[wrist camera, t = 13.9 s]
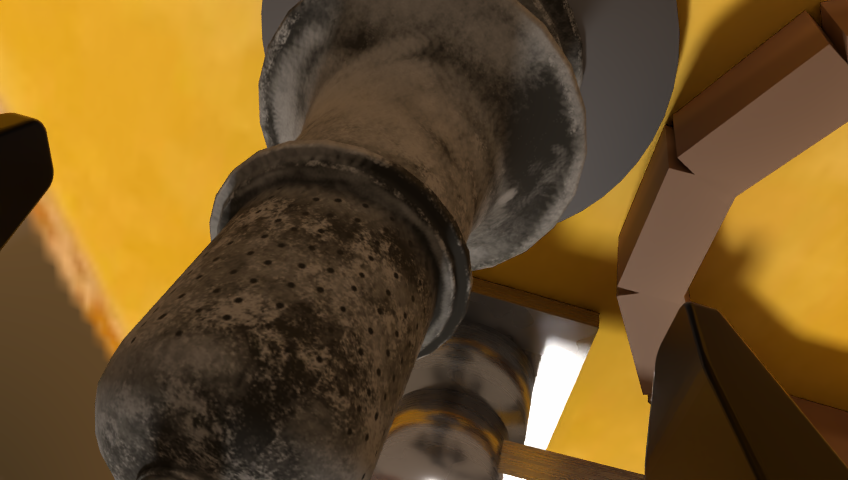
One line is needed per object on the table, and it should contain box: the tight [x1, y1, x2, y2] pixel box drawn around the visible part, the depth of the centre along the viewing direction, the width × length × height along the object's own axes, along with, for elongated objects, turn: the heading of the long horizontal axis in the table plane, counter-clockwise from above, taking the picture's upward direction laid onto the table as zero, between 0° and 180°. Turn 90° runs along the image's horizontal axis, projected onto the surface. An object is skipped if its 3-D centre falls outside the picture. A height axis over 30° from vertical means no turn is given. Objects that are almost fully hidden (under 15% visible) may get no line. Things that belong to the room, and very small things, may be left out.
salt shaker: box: [95, 0, 587, 480], centre depth 10 cm, size 6×6×12 cm
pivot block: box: [402, 277, 600, 450], centre depth 19 cm, size 6×6×2 cm
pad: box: [261, 0, 679, 223], centre depth 15 cm, size 9×9×1 cm
